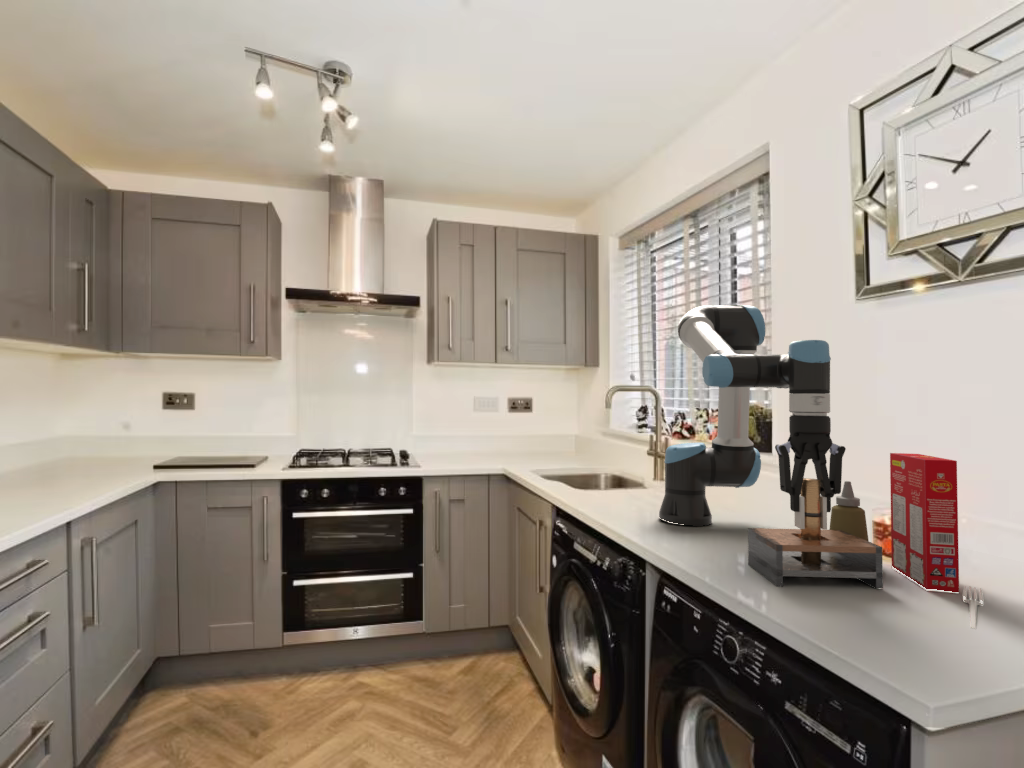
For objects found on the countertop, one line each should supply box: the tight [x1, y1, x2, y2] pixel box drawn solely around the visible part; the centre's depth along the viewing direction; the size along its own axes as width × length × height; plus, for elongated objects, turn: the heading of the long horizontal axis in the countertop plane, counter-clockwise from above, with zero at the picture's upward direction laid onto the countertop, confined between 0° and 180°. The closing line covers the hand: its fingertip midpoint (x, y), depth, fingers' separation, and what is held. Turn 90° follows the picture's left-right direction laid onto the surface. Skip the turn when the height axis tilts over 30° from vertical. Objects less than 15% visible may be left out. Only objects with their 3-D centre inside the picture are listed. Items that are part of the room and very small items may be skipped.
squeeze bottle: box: [828, 480, 870, 542], centre depth 122 cm, size 8×8×18 cm
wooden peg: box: [800, 477, 822, 565], centre depth 111 cm, size 4×4×18 cm
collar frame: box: [747, 527, 884, 589], centre depth 111 cm, size 14×20×8 cm
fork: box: [961, 585, 985, 630], centre depth 93 cm, size 3×20×2 cm, turn 139°
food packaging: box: [889, 452, 960, 593], centre depth 109 cm, size 15×5×25 cm, turn 167°
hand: (810, 527), depth 111 cm, fingers closed on wooden peg, 4 cm apart
